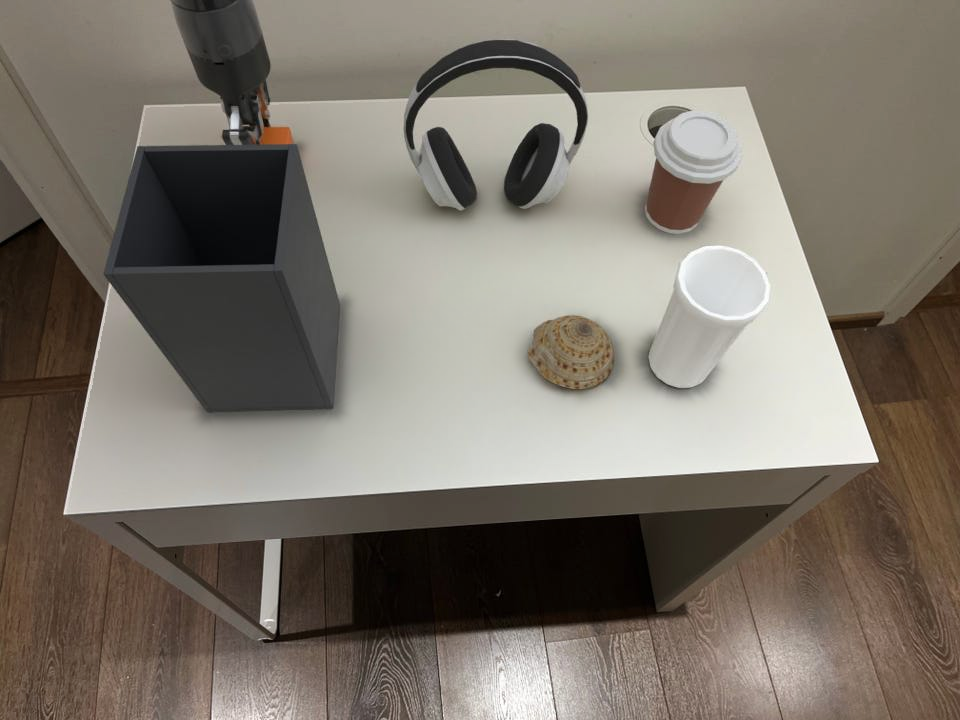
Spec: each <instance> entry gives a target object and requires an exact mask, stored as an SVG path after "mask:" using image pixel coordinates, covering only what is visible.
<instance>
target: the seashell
mask: <svg viewBox="0 0 960 720" xmlns="http://www.w3.org/2000/svg"><path fill="white" fill-rule="evenodd" d="M614 354H615V353H614V346H613V343H612V340H611V339H610V337H609V335H608V333H607V332H606V331H605V329H603V328H602V326H601V325H599V324H598V323H597V322H595V321H594V320H591V319H590V318H587V317H585V316H581V315H575V314H569V315H568V314H566V315H563V316H559V317H556V318H554V319H548V320H546V321H544V322H543V323H541V324H540V325H538V326H536V327H535V328H534V330H533V333H532V345H530V347H529V348H528V350H527V355H528V358H529V361H530V362H531V363H532V366H533V367H534V368H536V369H537V372H538V373H540V375H542V377H543V378H545V380H547V381H549V382H551V383H553V384H554V385H557V386H560V387H563V388H566V389H571V390H572V389H573V390H585V389H588V388H589V389H590V388H593V387H596V386H597V385H599V384H601V383H603V382H604V381H605V380H606V379H607V378H608V377H609V375H610V374H611V372H612V370H613V368H614V362H615V355H614Z"/></svg>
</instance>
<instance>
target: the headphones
mask: <svg viewBox="0 0 960 720" xmlns="http://www.w3.org/2000/svg"><path fill="white" fill-rule="evenodd" d="M490 69H515V70H522V71H526V72H532V73H535V74H537V75H538V76H542V77H544V78H546V79H547V80H550V81H552V82H553V83H554V84H555V85H557V86H558V87H560V89H562V90H563V91H564V92H565V93H566V94H567V95H568V97H569V98H570V100H572V103H573V105H574V108H575V111H576V112H575V113H576V123H577V124H576V125H577V126H576V130H575V135H574V139H573V142H572V143H571V145H570V148H569V149H568V151H567V149H566V146H565V135H564V133H563V132H562V131H561V130H560V129H559V128H558V127H556V126H554V125H553V124H551V123H544V122H540V123H538V124H536V125H533V127H532V128H531V129H530V130H528V132H527V133H526V134H525V135H524V137H523V138H522V140H521V141H520V143H519V144H518V146H517V147H516V150H515V152H514V154H513V155H512V158H511V160H510V163H509V165H508V167H507V170H506V173H505V175H504V182H503V192H504V196H505V197H506V198H507V200H508V201H509V202H510V203H511V204H512V205H514V206H515V207H516V208H520V209H530V208H531V207H534V206H535V205H537V204H545V203H550V202H551V201H552V200H553V199H554V198H556V196H557V195H558V194H559V192H560V191H561V189H562V188H563V186H564V184H565V182H566V179H567V176H568V175H569V169H570V164H571V163H572V161H573V160H574V159H575V156H576V155H577V153H578V151H579V149H580V147H581V145H582V143H583V141H584V138H585V135H586V131H587V128H588V123H589V122H588V121H589V110H588V109H589V107H588V102H587V97H586V95H585V93H584V90H583V88H582V87H581V83H580V81H579V77H578V74H576V73H575V71H574V70H573V69H572V67H570V66H569V65H568V64H567V63H566V62H565V61H564V60H562V59H561V58H560V57H559V56H557V55H556V54H554V53H552V52H550V51H549V50H548V49H546V48H544V47H541V46H539V45H537V44H535V43H532V42H527V41H523V40H518V39H512V38H504V39H503V38H500V39H497V38H496V39H485V40H480V41H476V42H473V43H470V44H467V45H464V46H461V47H459V48H457V49H455V50H453V51H451V52H449V53H447V54H445V56H443V57H442V58H440V59H439V60H438V61H436V62H435V63H434V64H432V65H431V66H430V67H429V68H428V69H427V70H426V71H425V72H424V73H422V74H421V75H420V77H419V79H418V81H417V82H416V84H415V85H414V87H413V89H412V90H411V93H410V94H409V97H408V100H407V101H406V102H407V103H406V106H405V109H404V114H403V138H404V143H405V146H406V149H407V152H408V156H409V158H410V161H411V163H412V164H413V166H414V168H415V170H416V171H417V173H418V174H419V176H420V179H421V182H422V183H423V186H424V187H425V189H426V191H427V193H428V194H429V196H430V197H431V199H432V200H433V201H434V202H435V204H436V205H438V206H439V207H450V208H454V209H456V210H458V211H464V210H466V209H468V208H469V207H470V206H471V205H473V204H474V203H475V201H476V200H477V197H478V190H477V186H476V183H475V181H474V178H473V176H472V174H471V172H470V170H469V168H468V166H467V164H466V162H465V160H464V158H463V156H462V154H461V153H460V150H459V149H458V147H457V146H456V143H455V142H454V140H453V138H452V137H451V135H450V133H449V132H448V131H447V130H446V128H445V127H442V126H435V127H431V128H430V129H429V130H427V131H426V132H424V133H423V134H422V138H421V145H420V148H419V150H418V151H417V149H416V147H415V141H414V128H415V122H416V119H417V116H418V114H419V112H420V110H421V108H422V107H423V106H424V104H425V103H426V102H427V101H428V99H429V98H430V97H431V96H433V95H434V94H435V93H436V92H437V91H439V90H440V89H441V88H443V87H445V86H446V85H448V84H449V83H450V82H452V81H454V80H456V79H458V78H460V77H462V76H466V75H468V74H472V73H475V72H479V71H486V70H490Z"/></svg>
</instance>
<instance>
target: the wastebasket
mask: <svg viewBox="0 0 960 720" xmlns="http://www.w3.org/2000/svg"><path fill="white" fill-rule="evenodd" d="M131 166H132V167H131V169H130V172H129V175H128V180H127V183H126V184H127V185H126V187H125V191H124V195H123V199H122V203H121V206H120V210H119V214H118V217H117V222H116V225H115V229H114V233H113V237H112V239H111V243H110V247H109V251H108V255H107V258H106V262H105V266H104V270H103V276H104V278H105V279H106V280H107V281H108V283H109V284H110V285H111V287H112V288H113V289H114V290H115V292H116V293H117V294H118V296H119V297H120V299H121V300H122V301H123V303H124V304H125V306H127V308H128V309H129V311H130V312H131V313H132V315H133V316H134V317H135V318H136V320H137V321H138V323H139V324H140V325H141V327H142V328H143V329H144V331H145V332H146V333H147V334H148V336H149V337H150V339H151V340H152V341H153V342H154V344H155V345H156V347H157V348H158V349H159V351H160V352H161V353H162V355H163V356H164V357H165V358H166V360H167V362H169V364H170V365H171V367H172V368H173V369H174V371H175V372H176V373H177V374H178V376H179V377H180V378H181V380H182V382H184V384H185V386H187V388H188V390H190V392H191V393H192V394H193V396H194V397H195V398H196V400H197V401H198V402H199V404H200V405H201V406H202V407H203V409H204V411H205V412H206V413H230V412H257V411H258V412H263V411H266V412H267V411H299V410H303V411H304V410H333V409H334V406H335V390H336V389H335V388H336V376H337V373H336V372H337V359H338V343H339V329H340V313H341V303H340V299H339V295H338V292H337V287H336V285H335V281H334V277H333V273H332V270H331V266H330V262H329V258H328V255H327V251H326V247H325V244H324V239H323V236H322V233H321V228H320V226H319V222H318V218H317V214H316V211H315V207H314V203H313V200H312V196H311V192H310V188H309V184H308V181H307V176H306V173H305V170H304V165H303V163H302V158H301V154H300V151H299V147H298V144H297V143H294V144H264V145H226V144H200V145H199V144H197V145H196V144H193V145H192V144H191V145H190V144H189V145H138V146H137V147H136V150H135V154H134V158H133V160H132V165H131Z"/></svg>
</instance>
